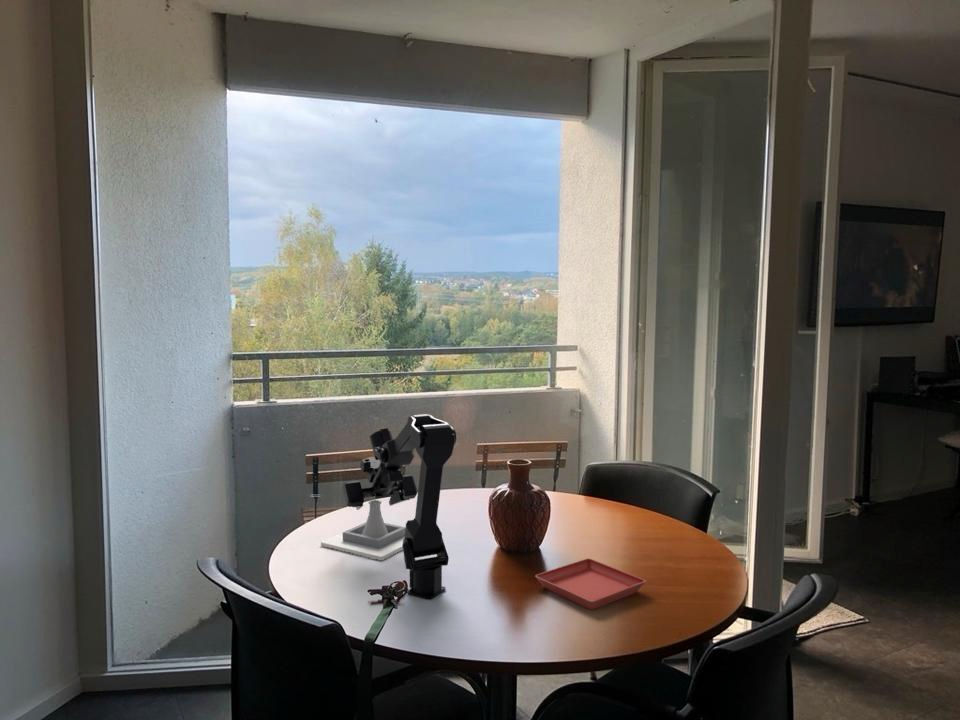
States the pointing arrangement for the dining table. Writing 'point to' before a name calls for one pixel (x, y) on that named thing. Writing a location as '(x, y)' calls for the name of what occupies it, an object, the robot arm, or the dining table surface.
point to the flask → (375, 521)
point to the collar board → (369, 542)
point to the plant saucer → (590, 583)
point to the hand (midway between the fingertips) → (373, 506)
